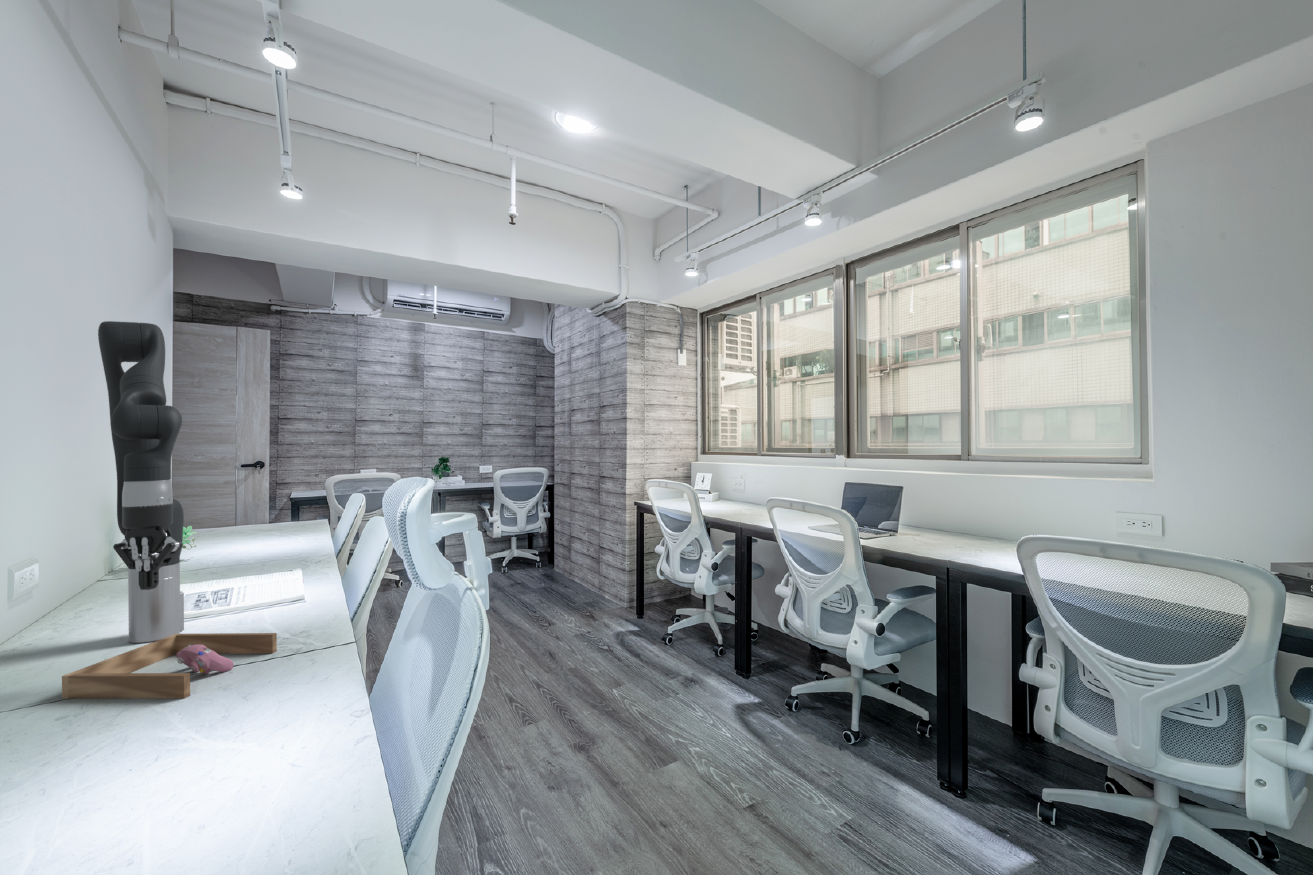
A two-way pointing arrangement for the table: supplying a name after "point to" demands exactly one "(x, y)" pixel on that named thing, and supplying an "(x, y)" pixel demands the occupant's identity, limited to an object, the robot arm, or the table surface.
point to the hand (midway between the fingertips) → (148, 588)
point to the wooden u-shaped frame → (116, 672)
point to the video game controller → (203, 659)
